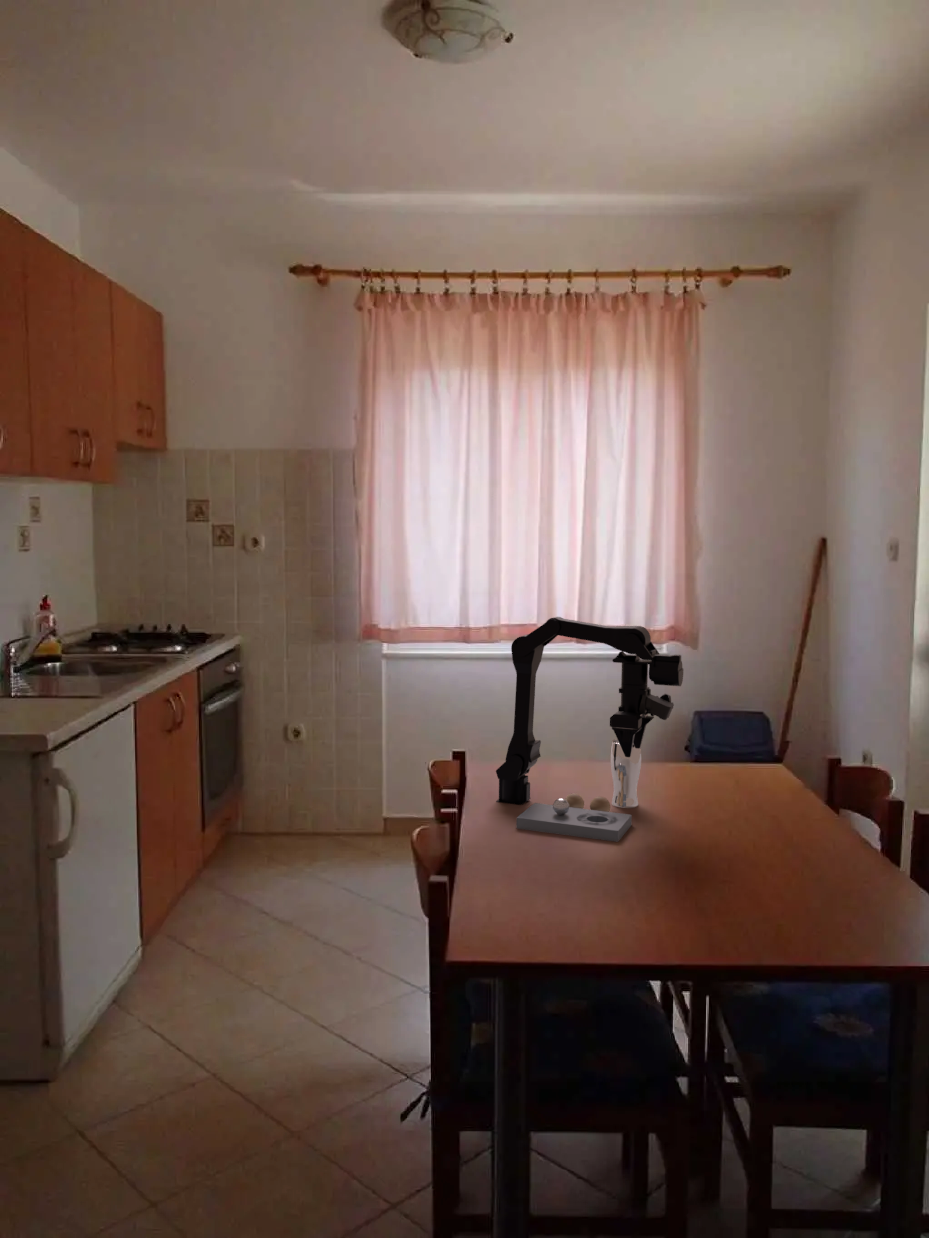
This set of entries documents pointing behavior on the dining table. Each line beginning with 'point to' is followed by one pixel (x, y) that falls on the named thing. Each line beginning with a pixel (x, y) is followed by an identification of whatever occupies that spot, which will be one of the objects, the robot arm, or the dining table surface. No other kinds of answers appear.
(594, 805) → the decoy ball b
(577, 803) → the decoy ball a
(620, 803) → the beer glass
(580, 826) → the plate
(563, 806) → the steel ball
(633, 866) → the dining table surface
